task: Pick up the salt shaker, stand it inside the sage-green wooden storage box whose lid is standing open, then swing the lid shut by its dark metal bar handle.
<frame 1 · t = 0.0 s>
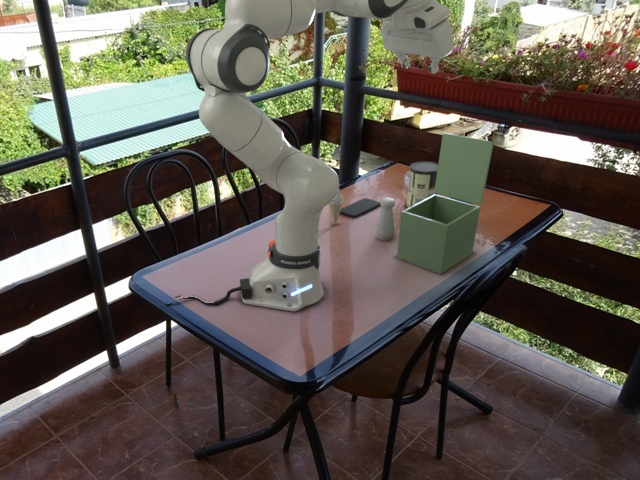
hand: (419, 69, 138), 52 cm above the table, tool tilted 20°, fingers open, 8 cm apart
soda can: (457, 226, 180), on the table
ice cream cone: (335, 224, 187), on the table
phone: (359, 209, 196), on the table
salt shaker: (384, 238, 176), on the table
coffee can: (421, 205, 195), on the table
box: (434, 255, 164), on the table
lid: (466, 167, 157), point 24 cm above the table, hinge at 92.0°
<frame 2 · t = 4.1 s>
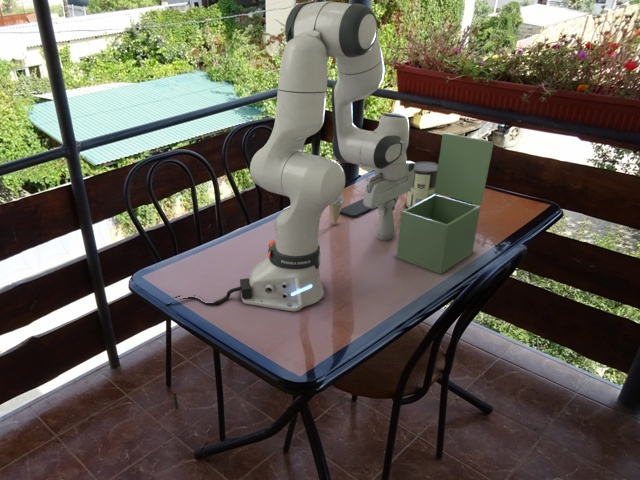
hand: (386, 212, 172), 9 cm above the table, tool pointing down, fingers closed on salt shaker, 3 cm apart
salt shaker: (384, 238, 176), on the table, touching gripper
everything else where it was.
when the fingers open (10 cm above the table, at t = 13.8 s): salt shaker stays where it is, resting on box.
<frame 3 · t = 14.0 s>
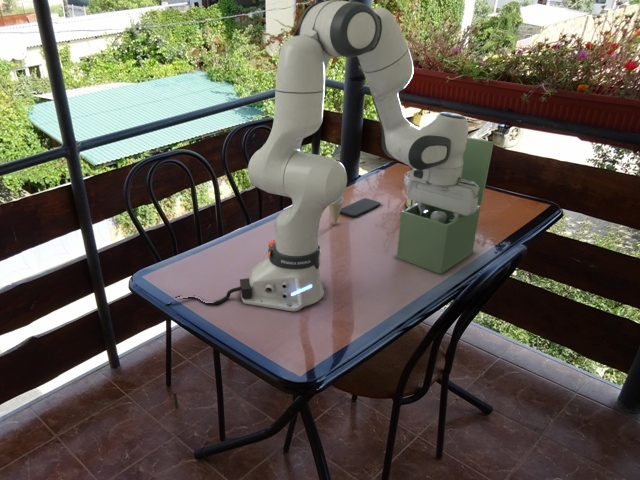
hand: (437, 221, 158), 11 cm above the table, tool pointing down, fingers open, 8 cm apart
salt shaker: (433, 254, 164), point 1 cm above the table, touching box
everything else where it was.
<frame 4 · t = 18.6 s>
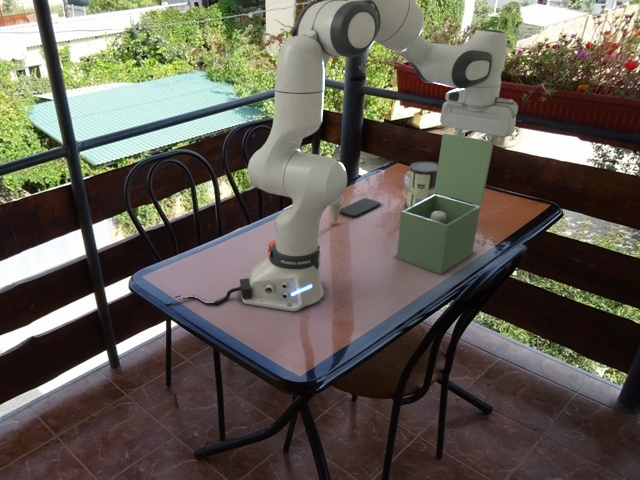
hand: (472, 146, 155), 29 cm above the table, tool pointing down, fingers closed on lid, 6 cm apart
lid: (466, 167, 157), point 24 cm above the table, hinge at 92.0°, touching gripper
everything else where it was.
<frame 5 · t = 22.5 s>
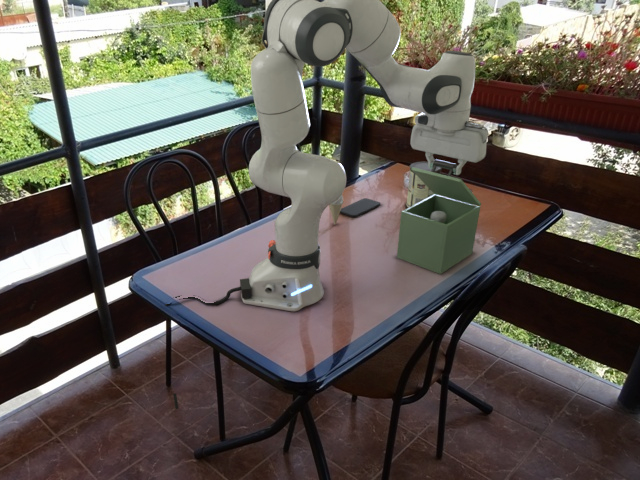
hand: (443, 170, 150), 26 cm above the table, tool pointing down, fingers closed on lid, 6 cm apart
lid: (450, 179, 154), point 23 cm above the table, hinge at 39.7°, touching gripper
everything else where it was.
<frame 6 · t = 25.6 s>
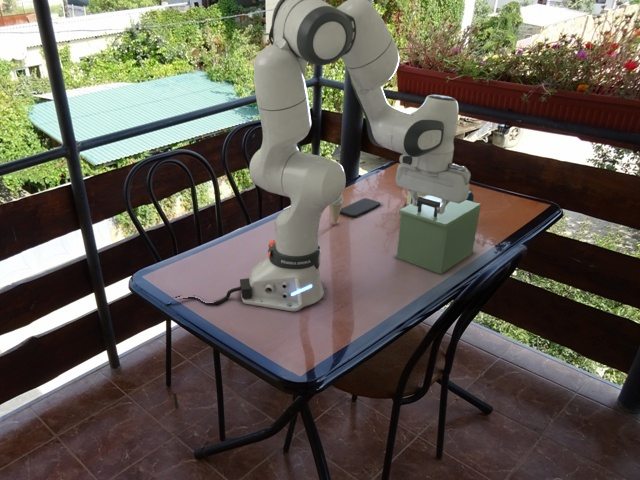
hand: (428, 209, 152), 17 cm above the table, tool pointing down, fingers closed on lid, 6 cm apart
lid: (440, 201, 155), point 17 cm above the table, hinge at -0.2°, touching box, gripper
everything else where it was.
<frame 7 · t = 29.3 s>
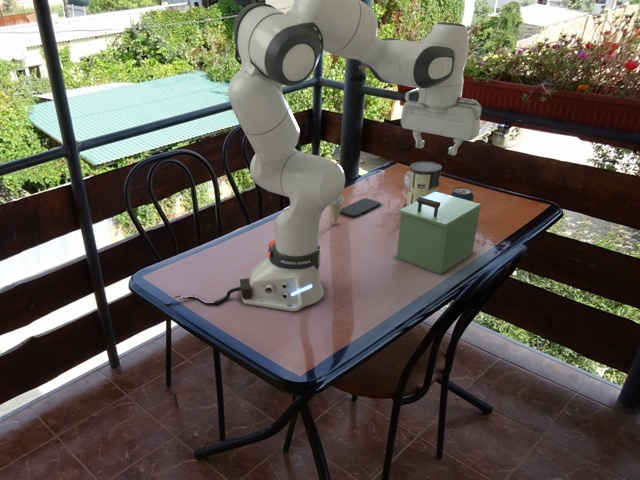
hand: (435, 151, 143), 33 cm above the table, tool pointing down, fingers open, 8 cm apart
lid: (440, 201, 155), point 17 cm above the table, hinge at -0.2°, touching box
everything else where it was.
at the end: salt shaker inside the target area in the box (0.5 cm from its centre), point 0.6 cm above the box's base; lid at +0° (first picture: +92°) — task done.
